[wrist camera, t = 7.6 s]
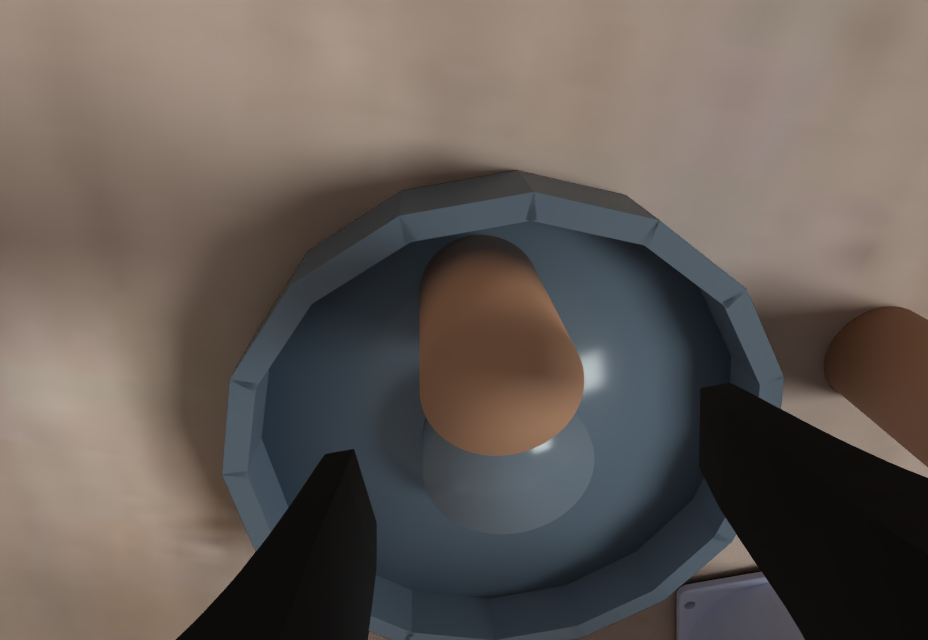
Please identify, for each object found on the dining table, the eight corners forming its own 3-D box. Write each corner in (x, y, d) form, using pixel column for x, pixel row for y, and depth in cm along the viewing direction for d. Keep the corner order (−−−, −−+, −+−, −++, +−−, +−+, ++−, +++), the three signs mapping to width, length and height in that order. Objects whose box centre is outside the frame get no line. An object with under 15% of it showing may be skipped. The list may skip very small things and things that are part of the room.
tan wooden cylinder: (544, 334, 20) (589, 441, 15) (431, 354, 20) (435, 467, 15) (531, 225, 19) (577, 300, 13) (408, 246, 19) (404, 331, 13)
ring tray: (727, 550, 27) (761, 607, 24) (324, 620, 27) (313, 684, 24) (750, 128, 19) (806, 143, 16) (170, 231, 19) (128, 263, 16)
